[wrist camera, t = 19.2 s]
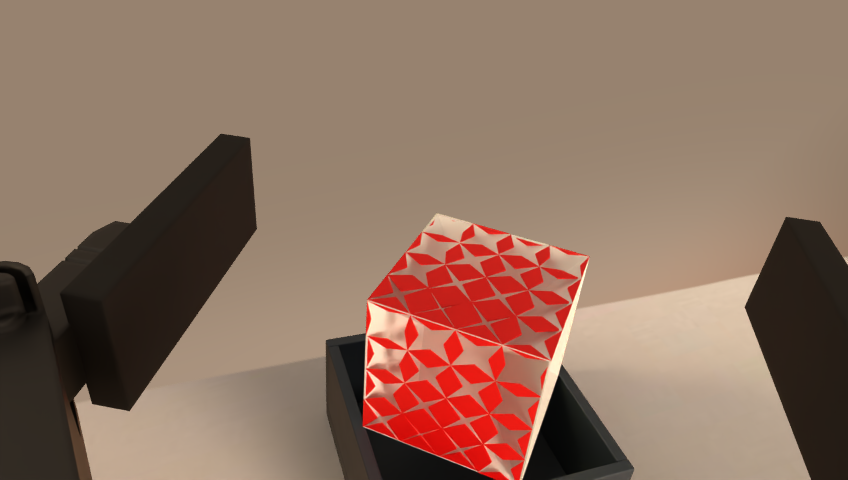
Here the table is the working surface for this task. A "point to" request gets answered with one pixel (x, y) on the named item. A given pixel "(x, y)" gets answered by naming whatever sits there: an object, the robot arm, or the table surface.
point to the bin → (434, 476)
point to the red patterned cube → (469, 344)
